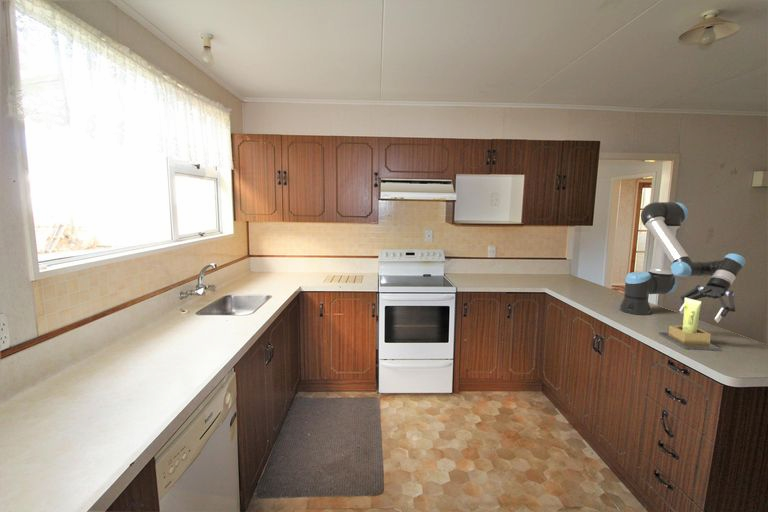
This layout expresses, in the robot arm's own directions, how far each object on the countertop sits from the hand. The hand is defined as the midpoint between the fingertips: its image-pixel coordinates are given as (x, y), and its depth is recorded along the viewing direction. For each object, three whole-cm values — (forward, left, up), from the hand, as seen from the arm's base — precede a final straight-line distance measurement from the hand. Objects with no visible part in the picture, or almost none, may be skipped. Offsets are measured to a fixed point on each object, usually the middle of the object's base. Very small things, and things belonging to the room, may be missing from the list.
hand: (697, 316), depth 161 cm
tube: (+2, -4, -11) cm, 12 cm away
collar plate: (+2, -4, -12) cm, 13 cm away
